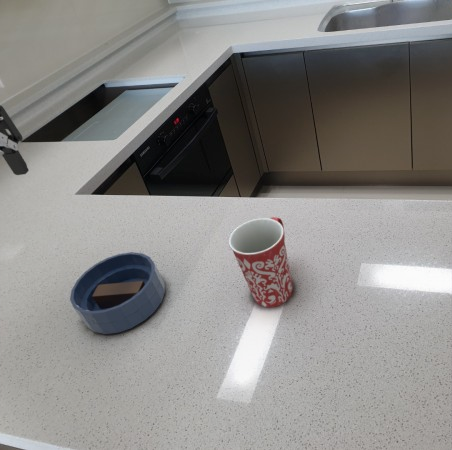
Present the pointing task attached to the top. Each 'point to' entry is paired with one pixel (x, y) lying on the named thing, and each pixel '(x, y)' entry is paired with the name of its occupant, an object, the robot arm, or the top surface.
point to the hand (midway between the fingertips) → (7, 188)
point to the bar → (116, 293)
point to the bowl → (118, 273)
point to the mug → (263, 260)
